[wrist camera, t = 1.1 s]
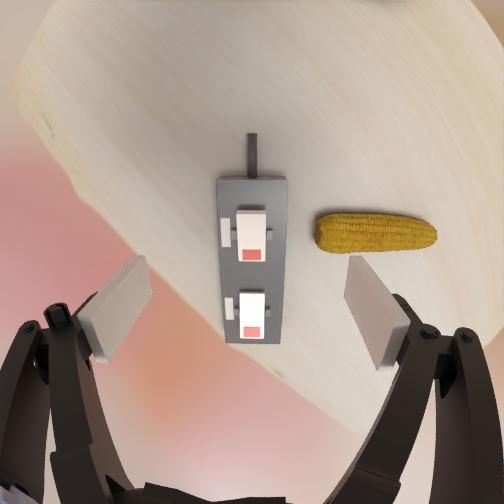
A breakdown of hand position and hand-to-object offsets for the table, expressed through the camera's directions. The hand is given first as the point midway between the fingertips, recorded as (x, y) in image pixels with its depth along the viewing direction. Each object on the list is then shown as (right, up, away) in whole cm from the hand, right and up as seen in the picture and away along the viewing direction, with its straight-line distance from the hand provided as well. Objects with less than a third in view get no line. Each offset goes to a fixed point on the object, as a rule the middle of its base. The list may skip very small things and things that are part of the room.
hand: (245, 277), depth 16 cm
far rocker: (0, -8, +23) cm, 25 cm away
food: (+20, +5, +24) cm, 31 cm away
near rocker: (0, +3, +19) cm, 19 cm away
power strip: (+1, +3, +25) cm, 25 cm away
